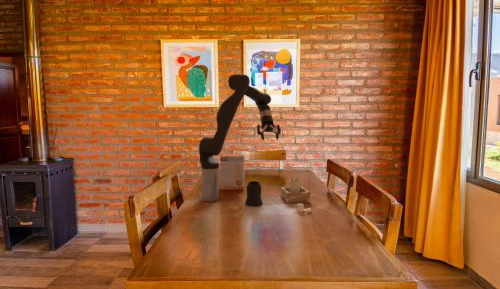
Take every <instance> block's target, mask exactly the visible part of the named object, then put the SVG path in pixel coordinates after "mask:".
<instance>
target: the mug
mask: <svg viewBox="0 0 500 289" xmlns="http://www.w3.org/2000/svg"><path fill="white" fill-rule="evenodd" d="M260 183H261V182H259V181H257V180H256V181H253V180H251V181H248V183H247V186H246V198H245V203H244V204H245V205H246V206H248V207H252V208H253V207H261V206H263V200H262V185H261V184H260Z"/></svg>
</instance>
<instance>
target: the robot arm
mask: <svg viewBox="0 0 500 289" xmlns="http://www.w3.org/2000/svg"><path fill="white" fill-rule="evenodd" d="M227 79H228V80H227V83H228V88H229V89H231V90H232V91H234V92H233V93H232V94H231V95H230V96H229V97H227V98H226V99H225V100H224V101H223V102H222V103H221V104H220V106H219V109H218V110H217V113H216V116H215V118H216V125H217V128H216V131H215V134H214V136H213V137H203V138H201V139H200V141H199V146H198V152H199V153H198V154H199V155H198V156H199V162H200V166H201V183H200V189H201V190H200V194H201V197H200V198H201V199H200V201H202V202H208V203H209V202H210V203H213V202H216V201H217V202H218V201H219V200H220V163H219V162H218V161H217V160H216V159H215V158H214V157H215V156H218V155H220V153H221V152H222V150H223V147H224V143H225V141H226V138H227V134H228V132H229V130H230V127H231V124H232V122H233V120H234V118H235V116H236V113H237V110H238V108H239V106H240V104H241V101H242V100H243V98H244V96H246V97H247V98H249V99H251V100H252V101H253V102H254V104H255V105H256V107H257V109H258V110H259V120H260V123H261V125H260V124H257V125H256V133H257V135H258V136H259V135H260V138H261V140H262V141H263V140H265V136H264V135H265V133H272V134H274V135H275V139H276V141H278V140H279V137H280V135H281V133H282V130H281V127H280V124H277V125H275V123H274V118H273V115H272V111H271V107H270V105H269V104H270V103H271V102H272V98H271V96H270V94H268V93H267V92H263V91H260V90H258V89H257V88H255V87H253V86H251V85H250V81H251V80H250V77H249V76H248V75H247V74H242V73H241V74H237V73H236V74H232V75H230V76H229V77H228V78H227ZM261 129H262V130H261Z"/></svg>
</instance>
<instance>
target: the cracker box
mask: <svg viewBox="0 0 500 289" xmlns="http://www.w3.org/2000/svg"><path fill="white" fill-rule="evenodd" d="M219 160H220V161H219V162H220V163H219V184H220V191H242V192H243V191H244V190H245V186H246V185H245V182H246V181H245V178H246V177H245V155H244V154H221V155H220V159H219Z"/></svg>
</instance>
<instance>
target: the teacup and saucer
mask: <svg viewBox="0 0 500 289" xmlns="http://www.w3.org/2000/svg"><path fill="white" fill-rule="evenodd" d="M304 205H305V203H295V206H296V207H297V208H296V207H294V208H295V209H292V210H291V212H292V214H296V215H300V214H299V213H303V212H304V214H303V215H307V214H310V213H311V212H312V208H309V207H308V208H304V207H305V206H304ZM296 211H297V212H296ZM295 212H296V213H295Z"/></svg>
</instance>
